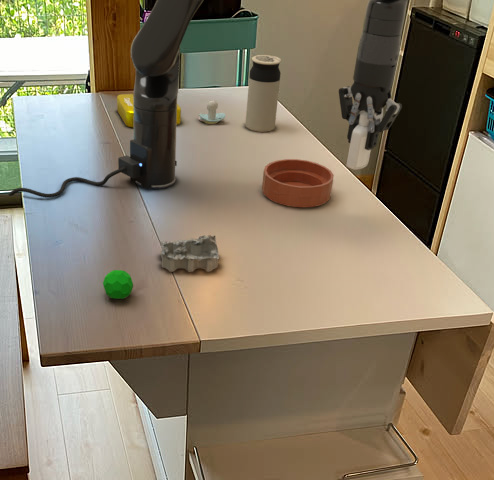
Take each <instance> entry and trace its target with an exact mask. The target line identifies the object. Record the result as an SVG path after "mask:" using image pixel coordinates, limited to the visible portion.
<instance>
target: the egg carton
mask: <svg viewBox="0 0 494 480" xmlns="http://www.w3.org/2000/svg"><path fill="white" fill-rule="evenodd" d="M217 243H218V242H217V237H216V235H211V234H208V235H205V234H204V235H201V236H198V238H190V239H184V240H182V239H178V240H173V241H163V240H162V241H160V250H161V251H160V254H161V256H160V257H161V267H162V268H163V269H165V270H168V272H171V273H172V272H173V273H174V272H175V271H176V270H178V269H184V270H186V271H187V272H188V273H189V272H190V273H191V272H194V271H195V270H197V269H203V270H205V272H207V273H211V272H212V271H213V270H215V269H217V268H218V265H219V259H220V255H219V248H218V244H217Z"/></svg>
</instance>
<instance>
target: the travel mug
mask: <svg viewBox="0 0 494 480" xmlns="http://www.w3.org/2000/svg"><path fill="white" fill-rule="evenodd" d="M251 61H252V66H251V68H250V70H249V77H248V90H247V98H246V99H247V100H246V112H245V113H246V114H245V124H244V125H245V128H247V129H249V130H251V131H253V132H259V133H265V132H266V133H267V132H270V131H274V130H275V128H276V119H277V111H278V101H279V92H280V82H281V74H282V73H281V70H280V63H281V62H282V59H281V58H280V57H278V56H274V55H269V54H257V55H254V56H251Z"/></svg>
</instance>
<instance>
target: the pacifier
mask: <svg viewBox="0 0 494 480" xmlns="http://www.w3.org/2000/svg"><path fill="white" fill-rule="evenodd" d="M218 108H219V103H218V101H217V100H215V99H212V100H209V101H208V102H207V104H206V109H207V110H208V111H207V113H198V116H199V117H198V121H201V122H204V123H205V124H208V125H215V124H218V123H219V122H221V121H223V120H224V119H225V118H226V113H225V112H217V110H218Z"/></svg>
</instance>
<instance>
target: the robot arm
mask: <svg viewBox="0 0 494 480" xmlns="http://www.w3.org/2000/svg"><path fill="white" fill-rule="evenodd" d="M408 1H409V0H368V2H367V5H366V8H365V14H364V19H363V24H362V25H363V26H362V30H361V34H360V37H359V38H360V39H359V42H358V46H357V53H356V59H355V64H354V71H353V76H352V80H353V83H352V84H351V86H350V85H347V86H343V87H340V88H339V89H338V98H339V105H340V112H341V113H340V114H341V119H343V120H346V121H347V122H348V129H347V135H346V136H347V137H346V138H347V140H348V141H347V142H348V143H349V144H350V142H351V137H352V132H353V130H354V128H355V127H356V126H357V125H358V124H359V119H360V114H361V113H362V112H364V111H366V112H367V113H368V120H369V131H368V133H367V139H366V144H365V149H366V150H371V151H372V150H373V149H374V148H376V147H377V144H378V140H379V135H380V133H382V132H385V131H388V130H389V129H390V128H391V126H392V125H393V124H394V122H395V120H396V118H397V117H398V115H399V113H400V111H401V110H402V108H403V105H402V103H400V102H395V101H394V100H393V99H392V93H391V90H392V86H393V85H394V80H395V74H396V71H397V64H398V60H399V56H400V50H401V41H402V40H401V38H402V33H403V28H404V24H405V18H406V13H407V12H406V9H407V5H408ZM203 2H204V0H156V1H155V3H154V6H153V7H152V9H151V11H150V13H149V14H148V16H147V18H146V20H145V21H144V23H143V25H142V27H141V28H140V29H139V30H138V32H137V33H136V35H135V37H134V38H133V40H132V43H131V46H130V58H131V61H132V64H133V66H134V69H135V78H134V87H133V91H132V94H133V109H134V128H133V138H132V139H130V140H129V155H124V156H123V155H122V156H120V157H118V158H117V159H118V160H117V161H118V162H117V165H118V169H115V170H113V171H112V172H110V173H108V174H107V175H106V176H105V177H104V178H103V179H102V180H101V181H92V180H89V179H86V178H84V177H79V176H73V177H69V178H66V179H65V180H64V181H63V182H62V184H61V187H60V189H59V190H58V191H56V192H52V193H45V192H41V191H38V190H34V189H31V188H27V187H17V188H14V189H12V190H11V191H10V192H9V193H7V196H8V197H11V196H14V195H15V194H17V193H28V194H32V195H34V196H37V197H40V198H46V199H47V198H48V199H49V198H56V197H59V196H61V195H62V194H63V193H64V191H65V189H66V186H67V185H68V184H69V183H71V182H81V183H85V184H88V185H91V186H96V187H101V186H104V185H106V184H107V182H108V181H109V180H110V179H111V178H113V177H114V176H116V175H118V174H120V173H122V174H124V175H126V176H127V177H129V180H130V182H132V183H134V184H136V185H138V186H139V187H142V188H143V189H145V190H151V189H152V190H153V189H164V188H169V187H171V186H172V185H174V184H175V183H176V167H177V163H178V162H177V160H176V156H177V155H176V154H177V153H176V152H177V125H176V123H177V104H178V95H179V94H178V93H179V88H180V87H179V86H180V64H181V45H182V42H183V39H184V36H185V35H186V32H187V29H188V27H189V25H190V23H191V21H192V19H193V18H194V15H195V14H196V13H197V11H198V9H199V8H200V7H201V5H202V4H203ZM385 106H386V108H385V114H384V107H385Z"/></svg>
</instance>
